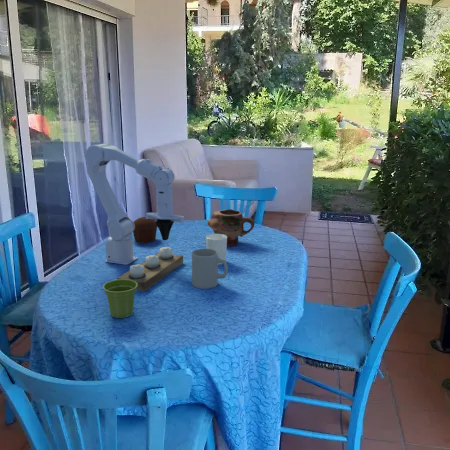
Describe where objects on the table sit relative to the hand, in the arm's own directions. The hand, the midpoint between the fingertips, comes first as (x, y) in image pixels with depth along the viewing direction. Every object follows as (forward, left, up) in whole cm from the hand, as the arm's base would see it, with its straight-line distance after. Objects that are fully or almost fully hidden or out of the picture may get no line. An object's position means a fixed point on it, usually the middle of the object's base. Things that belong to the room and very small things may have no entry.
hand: (165, 239), depth 163 cm
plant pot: (+7, -40, -10) cm, 42 cm away
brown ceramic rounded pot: (+13, +34, -10) cm, 38 cm away
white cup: (+16, +10, -10) cm, 21 cm away
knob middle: (0, -10, -7) cm, 12 cm away
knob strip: (0, -10, -10) cm, 14 cm away
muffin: (-23, +24, -10) cm, 35 cm away
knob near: (0, -20, -7) cm, 21 cm away
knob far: (0, 0, -7) cm, 7 cm away
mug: (+22, -11, -10) cm, 27 cm away
